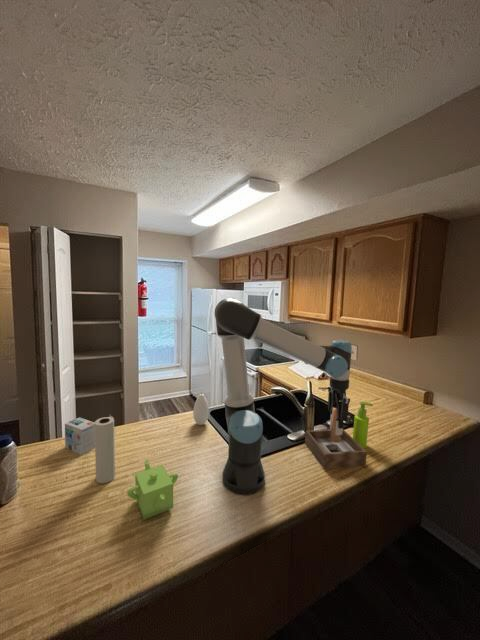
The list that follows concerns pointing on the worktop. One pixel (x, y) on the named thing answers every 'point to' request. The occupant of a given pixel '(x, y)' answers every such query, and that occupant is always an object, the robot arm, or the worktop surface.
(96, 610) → the worktop surface
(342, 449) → the box
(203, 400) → the sauce bottle
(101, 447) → the paper towel roll
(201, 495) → the worktop surface
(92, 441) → the light bulb box
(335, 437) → the peg
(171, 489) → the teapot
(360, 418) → the soap dispenser
